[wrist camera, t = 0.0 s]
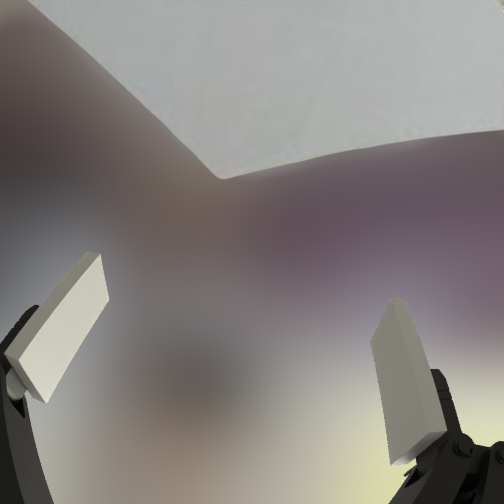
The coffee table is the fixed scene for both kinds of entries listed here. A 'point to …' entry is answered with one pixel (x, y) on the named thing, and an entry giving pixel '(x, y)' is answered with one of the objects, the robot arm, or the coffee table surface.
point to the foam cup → (500, 4)
